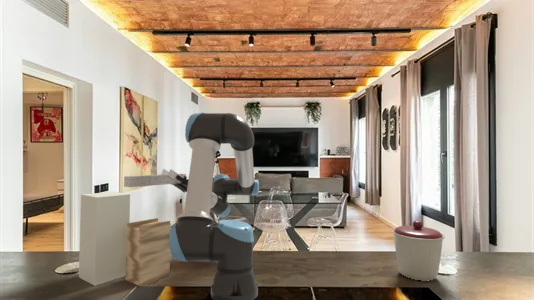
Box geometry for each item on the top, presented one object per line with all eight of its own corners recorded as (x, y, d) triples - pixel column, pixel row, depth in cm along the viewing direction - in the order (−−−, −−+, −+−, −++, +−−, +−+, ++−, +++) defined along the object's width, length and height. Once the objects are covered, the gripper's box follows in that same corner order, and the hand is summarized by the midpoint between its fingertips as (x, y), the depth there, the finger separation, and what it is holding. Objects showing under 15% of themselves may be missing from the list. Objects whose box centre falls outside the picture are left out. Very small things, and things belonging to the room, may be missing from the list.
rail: (185, 182, 124) (185, 174, 124) (129, 187, 105) (129, 176, 105) (180, 182, 126) (180, 173, 126) (124, 186, 107) (124, 176, 107)
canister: (452, 288, 107) (452, 227, 107) (397, 283, 110) (397, 224, 111) (435, 269, 124) (435, 217, 125) (387, 266, 128) (388, 215, 128)
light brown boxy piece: (169, 275, 114) (170, 221, 115) (140, 286, 105) (141, 226, 105) (155, 270, 120) (156, 218, 120) (125, 279, 110) (127, 223, 110)
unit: (128, 275, 114) (130, 194, 115) (94, 285, 105) (97, 197, 105) (110, 267, 122) (112, 191, 122) (78, 276, 112) (80, 194, 113)
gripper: (215, 207, 128) (175, 182, 112) (188, 203, 138) (148, 179, 122) (221, 191, 132) (184, 164, 115) (195, 188, 141) (157, 163, 125)
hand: (166, 172), depth 119 cm, fingers closed on rail, 3 cm apart
